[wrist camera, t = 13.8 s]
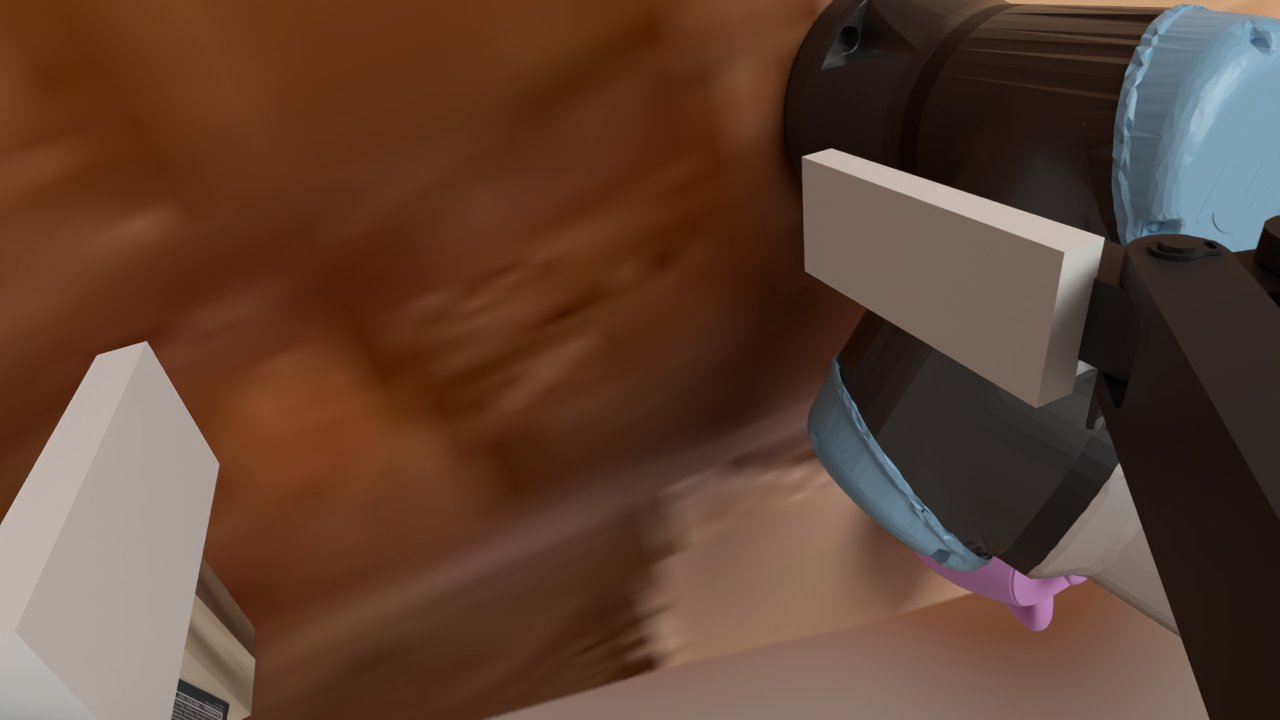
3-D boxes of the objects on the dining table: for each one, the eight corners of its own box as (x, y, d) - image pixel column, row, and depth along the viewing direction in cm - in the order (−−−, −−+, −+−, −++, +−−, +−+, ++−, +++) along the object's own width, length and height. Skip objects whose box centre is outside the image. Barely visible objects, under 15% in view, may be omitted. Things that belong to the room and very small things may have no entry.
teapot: (1033, 496, 76) (1171, 596, 64) (879, 577, 72) (996, 701, 60) (1053, 345, 66) (1223, 429, 54) (874, 429, 61) (1014, 541, 49)
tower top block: (122, 514, 37) (103, 566, 33) (255, 660, 44) (250, 715, 40) (-93, 604, 35) (-135, 669, 31) (83, 742, 42) (64, 807, 38)
